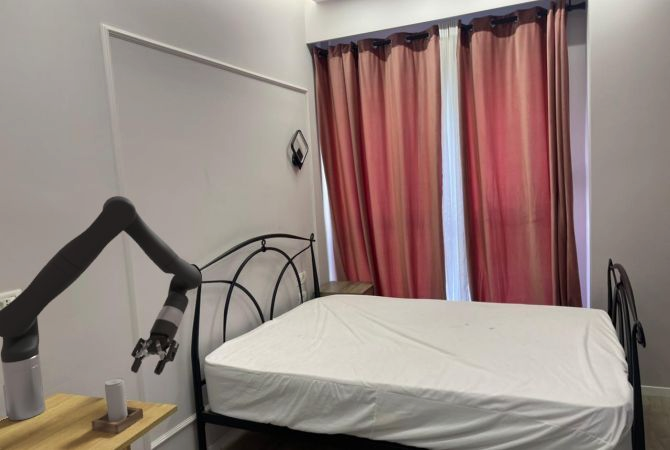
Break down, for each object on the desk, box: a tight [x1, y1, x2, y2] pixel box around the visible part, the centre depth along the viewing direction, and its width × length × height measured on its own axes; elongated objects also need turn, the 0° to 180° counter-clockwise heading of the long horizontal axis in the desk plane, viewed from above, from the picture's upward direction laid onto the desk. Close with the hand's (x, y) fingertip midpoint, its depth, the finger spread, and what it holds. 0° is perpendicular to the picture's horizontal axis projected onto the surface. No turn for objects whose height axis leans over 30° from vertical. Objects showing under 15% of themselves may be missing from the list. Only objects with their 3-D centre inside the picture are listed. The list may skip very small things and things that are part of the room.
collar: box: [91, 406, 144, 435], centre depth 128 cm, size 9×9×3 cm
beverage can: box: [104, 377, 128, 422], centre depth 128 cm, size 5×5×12 cm
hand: (145, 372), depth 138 cm, fingers open, 8 cm apart
